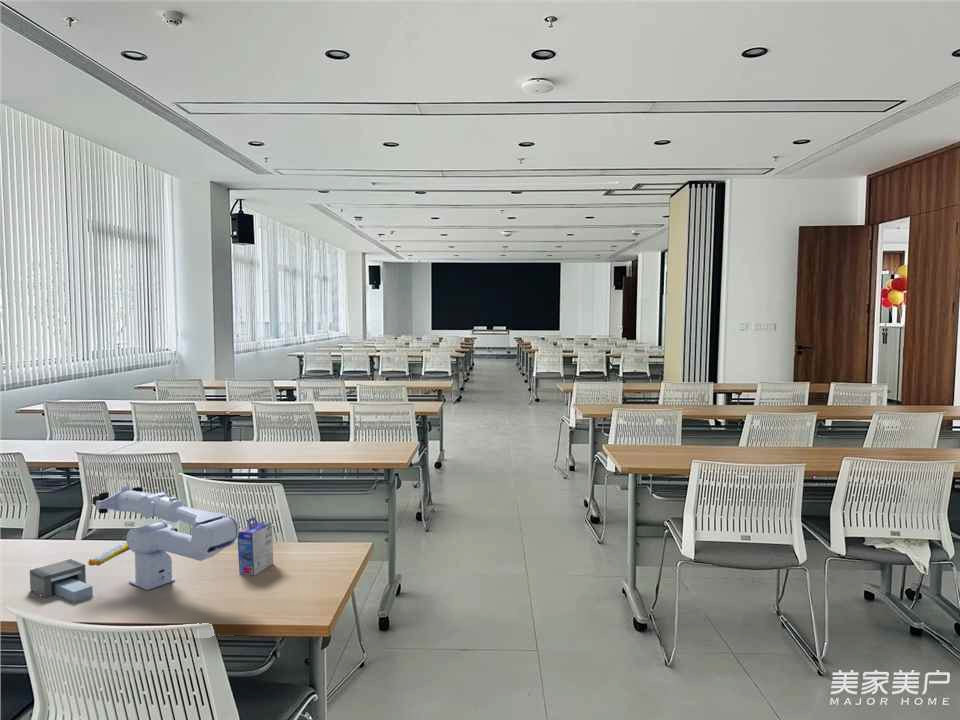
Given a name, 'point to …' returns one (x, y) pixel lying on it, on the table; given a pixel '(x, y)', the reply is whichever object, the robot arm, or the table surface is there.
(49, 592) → the gray block
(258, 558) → the ink cartridge box
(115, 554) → the candy bar
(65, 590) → the pale blue rectangular block
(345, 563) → the table surface
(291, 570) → the table surface
